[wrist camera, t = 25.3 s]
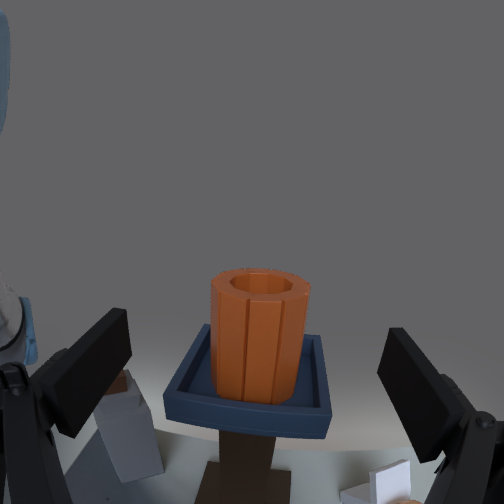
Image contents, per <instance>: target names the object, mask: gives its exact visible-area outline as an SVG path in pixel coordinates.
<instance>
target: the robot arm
mask: <svg viewBox="0 0 504 504" xmlns="http://www.w3.org/2000/svg"><path fill="white" fill-rule="evenodd" d="M9 76H10V33H9V26H8V21H7V18H6V16H5V14H4V12H3V11H2V10H1V9H0V134H1V131H2V129H3V125H4V121H5V116H6V110H7V91H8V89H9ZM131 356H132V351H131V344H130V337H129V329H128V321H127V311H126V309H119V308H112V309H111V310H110V311H109V312H108V313H107V314H106V315H105V316H104V317H102V318H101V319H100V320H99V321H98V322H97V323H96V324H95V325H94V326H93V327H92V328H90V329H89V330H88V331H87V332H86V333H85V334H84V335H83V336H82V337H81V338H80V339H79V340H78V341H77V342H76V343H75V344H74V345H72V346H71V347H70V348H69V349H66V348H64V349H62V350H60V351H58V352H56V353H55V354H54V355H53V356H52V357H51V358H50V359H49V360H47V361H46V362H45V363H44V365H42V366H41V367H40V368H39V369H38V370H37V371H36V372H35V373H34V374H33V375H32V376H31V377H30V378H29V377H28V374H27V371H26V368H25V366H26V365H31V364H34V363H36V362H37V359H38V352H37V346H36V340H35V333H34V326H33V319H32V311H31V304H30V301H29V299H28V298H26V297H18V296H17V294H16V293H15V292H14V291H13V290H12V289H11V288H10V287H8V286H7V285H5V283H4V280H3V278H2V274H1V271H0V384H1V386H2V387H1V386H0V504H3V498H4V487H5V479H6V472H7V479H8V486H9V492H10V498H11V503H12V504H73V502H72V500H71V497H70V494H69V491H68V488H67V485H66V482H65V478H64V475H63V472H62V468H61V465H60V461H59V457H58V453H57V449H56V445H55V441H54V436H53V433H52V431H51V429H50V428H51V427H52V426H53V425H54V423H55V424H56V427H57V429H58V431H59V433H61V434H64V435H66V436H68V437H71V438H74V439H75V437H76V436H77V434H78V433H79V431H80V430H81V428H82V427H83V425H84V424H85V422H86V421H87V419H88V418H89V417H90V415H91V413H92V412H93V411H94V409H95V408H96V406H97V405H98V403H99V402H100V400H101V399H102V397H103V396H104V395H105V393H106V392H107V390H108V389H109V387H110V386H111V385H112V383H113V382H114V380H115V379H116V377H117V376H118V375H119V373H120V372H121V370H122V369H123V367H124V366H125V365H126V363H127V362H128V360H129V359H130V357H131ZM377 374H378V376H379V377H380V380H381V381H382V384H383V386H384V388H385V390H386V392H387V394H388V396H389V397H390V400H391V402H392V404H393V406H394V408H395V410H396V412H397V414H398V416H399V418H400V420H401V422H402V425H403V427H404V429H405V431H406V433H407V435H408V437H409V440H410V442H411V444H412V446H413V448H414V451H415V453H416V455H417V457H418V459H419V462H420V464H421V463H425V462H429V461H433V460H436V459H437V458H438V456H439V455H440V453H441V451H442V450H443V451H444V453H445V455H446V457H445V458H444V460H443V461H442V462H441V464H440V465H439V467H438V468H437V469H436V471H435V472H434V473H437V472H438V473H437V476H436V478H435V481H434V483H433V485H432V487H431V490H430V492H429V494H428V496H427V498H426V500H425V503H424V504H504V421H496V419H495V418H494V417H493V416H492V415H491V414H489V413H487V412H483V411H476V410H475V408H474V407H473V406H472V404H471V403H470V402H469V400H468V399H467V398H466V396H465V395H464V394H462V391H461V390H460V389H459V388H458V386H457V385H456V384H455V382H454V381H453V380H452V379H451V378H449V377H448V376H446V375H445V374H439V373H438V372H437V370H436V369H435V367H434V366H433V365H432V363H430V361H429V360H428V359H427V357H426V356H425V355H424V353H423V352H422V351H421V350H420V348H419V347H418V346H417V345H416V343H415V342H414V341H413V340H412V339H411V337H410V336H409V335H408V334H407V332H406V331H405V330H404V329H403V328H389V332H388V336H387V340H386V343H385V347H384V351H383V354H382V357H381V361H380V364H379V368H378V371H377Z"/></svg>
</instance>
